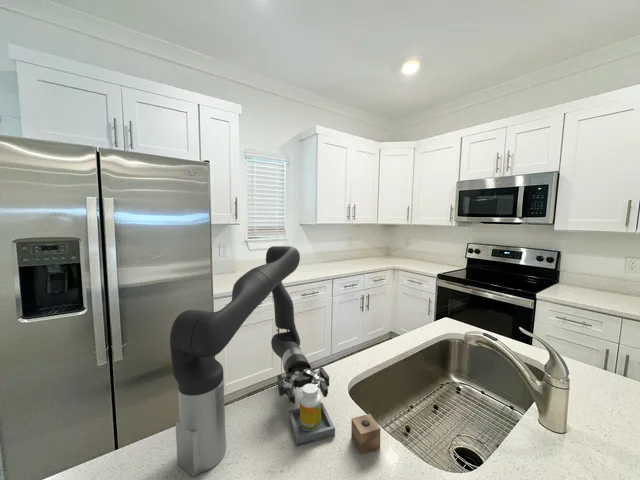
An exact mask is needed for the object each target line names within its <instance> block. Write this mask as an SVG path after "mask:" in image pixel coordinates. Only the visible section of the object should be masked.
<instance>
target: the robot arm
mask: <svg viewBox="0 0 640 480" xmlns="http://www.w3.org/2000/svg"><path fill="white" fill-rule="evenodd" d="M265 254H266V255H265V264H261V265H258V266H255V267H254V268H251V269H249V270H247V272H245V273H244V274H243V275H242V276H241V277H239V278H238V279H237V280H236V281H235V283H234V284H233V287H232V291H231V301H229V303H227V304H226V305H225V306H224V307H222V308H221V309H220V310H217V311H207V310H201V309H200V310H199V309H186V310H184V311H182V312H181V313H179V315H178V316H177V317H176V318H175V319H174V321H173V323H172V325H171V330H170V333H169V334H170V335H169V346H170V347H169V348H170V350H169V351H170V357H171V366H172V374H173V377H174V380H175V381H176V383H177V392H178V393H177V394H178V408H179V409H178V412H179V413H178V416H179V417H178V418H179V420H178V421H177V422H176V423H175V441H176V442H175V443H176V459H177V460H176V461H177V462H176V463H177V465H178V466H179V467H181V468H182V469H183V470H185V471H186V472H187V473H188V474H189V475H190V476H191V477H193V478H195V477H196V476H198V475H199V474H201V473H203V472H206V471H209V470H211V469H212V468H214V467H216V466H217V465H218V464H219V463H220V462H221V460H222V459H223V458H224V456H225V454H226V451H227V443H226V442H227V441H226V440H227V439H226V415H225V414H226V412H225V411H226V410H225V408H226V407H225V387H224V386H225V384H224V383H225V382H224V380H225V379H224V368H223V365H222V364H221V362H219V361H218V360H217V359H215V358H214V357H215V356H217V355H219V354H220V353H221V352H222V351H223V350H224V349H225V347H227V346H228V344H229V343H230V342H231V341H232V339H233V338H234V336H235V335H236V333H237V332H238V331H239V330H240V328H241V327H242V325H243V324H244V323H245V322H246V320H247V319H248V318H249V317H250V315H251V314H252V313H253V312H254V311H255V309H257V308H258V306H260V305H261V304H262V302H264V300H265V299H266V298H267V297H268V296H270V294H272V299H273V307H274V323H275V327H276V328H278V329H280V330H286V331H283V332H278V333H275V334H274V335H273V336H272V337H271V341H270V343H271V345H270V346H271V349H272V351H273V352H274V354H276V355H277V356H278V358H280V360H281V361H282V366H283V368H282V369H283V370H284V373H285V374H286V376H282V374H277V378H276V379H277V389H278V395H279V396H280V397H283V396H285V395H286V397H287V399H288V402H289V403H291V404H292V405H295V404H296V395H295V391H296V390H297V388H298V389H300V388H301V389H302V388H303V386H304V385H306V384H315V385H316V386H317V387H318V389H319V390H320V392H321V394H322V396H323V398H327V397H328V395H329V386H330V375H328V373H327V371H326V370H325V369H324V368H323V367H318V370H313V369H312V367H311V364H310V363H309V361H308V358H307V357H306V355H305V354H304V352H303V351H302V349H301V348H300V346H301V338H300V335H299V333H298V331H297V326H296V324H295V323H296V322H295V310H294V302H293V299H292V297H291V296H290V294H289V293H288V290H287V289H286V287H285V285H284V284H283V281H284V280H285V279H286V278H288V277H289V276H290V275H291V274H292V273H294V272H295V271H296V270H297V269H298V267H299V264H300V260H301V254H300V251H299V250H298V248H297V247H294V246H291V245H290V246H289V245H275V246H274V245H273V246H270V247H269V248H268V249H267V250H266V253H265ZM287 330H289V331H287ZM286 383H287V385H286V386H285V384H286Z"/></svg>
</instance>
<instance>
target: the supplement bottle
mask: <svg viewBox="0 0 640 480" xmlns="http://www.w3.org/2000/svg"><path fill="white" fill-rule="evenodd" d="M301 390H302V392H301V393H302V394H301V395H300V397H299V408H300V426H301V428H302V429H304V430H305V431H315V430H317V429H318V428H319V427H320V424H321V403H322V399H321V398H322V397H321V395H320V394H319V388H318V387H317V386H316V385H315V384H306V385H304V386H303V387H302V388H301Z"/></svg>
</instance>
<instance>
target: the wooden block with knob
mask: <svg viewBox="0 0 640 480" xmlns="http://www.w3.org/2000/svg"><path fill="white" fill-rule="evenodd" d="M350 424H351V427H350V428H351V431H350V432H351V433H350V434H351V440H352V442H353V443H354V445H355V447H356V449H357V451H358V453H359V454H360V455H361V456H362V455H364V454H368V453H371V452H374V451H377V450H380V449H381V427H380V425H378V423H377V421H376V420H375V418H373V415H371V413H367V414H363V415H360V416H356V417H352V418H351V423H350Z"/></svg>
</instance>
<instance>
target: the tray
mask: <svg viewBox="0 0 640 480" xmlns="http://www.w3.org/2000/svg"><path fill="white" fill-rule="evenodd" d="M288 419H289V423H290V427H291V430H292V434H293V436H294V441H295V444H296V446H297V447H298V446H303V445H306V444H310V443H314V442H317V441H320V440H324V439H327V438H331V437H335V436H336V427H335V425H334V423H333V421H332V418H330V415H329V413H328V411H327V408H326V407H325V405H324V403H323V402H321V424H320V427H319V428H318V429H317V430H315V431H305V430H304V429H302V428H301V426H300V407H297V408H293V409H289V410H288Z"/></svg>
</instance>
